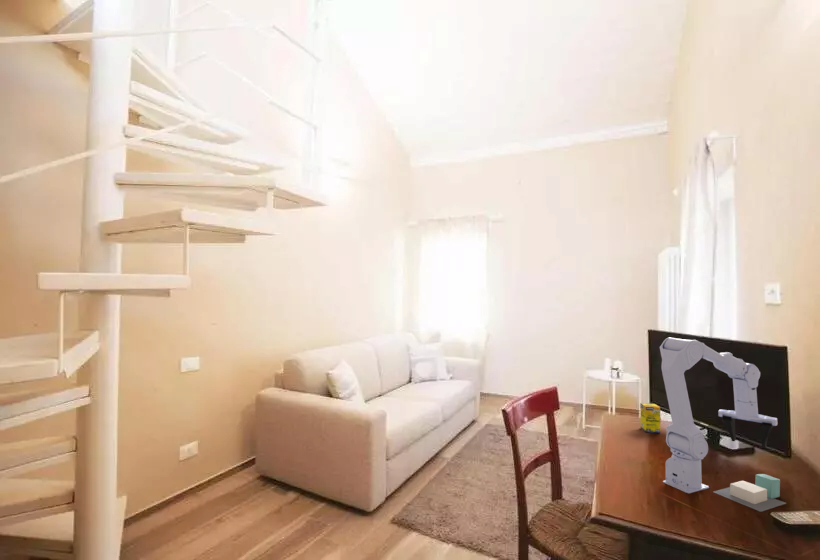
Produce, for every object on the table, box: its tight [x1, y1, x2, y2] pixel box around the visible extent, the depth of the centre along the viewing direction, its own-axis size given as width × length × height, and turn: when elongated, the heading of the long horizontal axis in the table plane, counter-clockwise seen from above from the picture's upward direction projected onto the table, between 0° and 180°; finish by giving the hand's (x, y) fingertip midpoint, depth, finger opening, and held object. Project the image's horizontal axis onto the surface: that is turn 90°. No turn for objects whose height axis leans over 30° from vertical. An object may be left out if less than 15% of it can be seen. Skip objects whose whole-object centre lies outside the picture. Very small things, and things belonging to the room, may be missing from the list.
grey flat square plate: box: [713, 486, 787, 513], centre depth 117 cm, size 12×12×1 cm
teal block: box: [754, 473, 781, 499], centre depth 119 cm, size 4×4×5 cm
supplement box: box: [639, 402, 661, 434], centre depth 176 cm, size 6×6×11 cm
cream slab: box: [729, 480, 767, 504], centre depth 117 cm, size 6×6×3 cm
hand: (748, 443), depth 131 cm, fingers open, 7 cm apart
